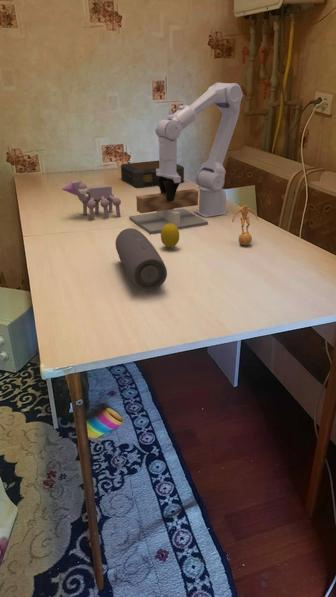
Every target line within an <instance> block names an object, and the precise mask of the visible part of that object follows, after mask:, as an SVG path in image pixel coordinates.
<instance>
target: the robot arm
mask: <svg viewBox="0 0 336 597" xmlns="http://www.w3.org/2000/svg"><path fill="white" fill-rule="evenodd" d="M207 88H208V89H207V91H205V92H204V93H203V94H202V95H201V96H199V97H198V98H197V99H196V100H194V102H192V103H191V104H190V105H186V104H185V105H180V106H179V107H178V109H177V110H176V111H175V112H174V113H172V114H169V115H168V116H167V119H161V120H160V121H159V122H158V123H157V125H156V128H155V129H154V130H155V134H156V136H157V138H158V143H159V144H158V146H159V150H158V152H159V153H158V159H159V160H158V161H159V169H156V175H157V176H160V177H158V178H156V181H157V183H158V185H159V186H158V187H159V191H160V193H166V195H167V201H168V202H171V201H174V198H175V194H176V191H178V188H179V186H180V184H181V183H180V182H181V176H179V175H178V173H177V172H176V168H177V164H178V163H177V162H178V161H177V159H178V158H177V156H178V155H177V154H178V153H177V150H178V138H180V136H181V133H182V131H184V129H186V128H187V127H189V126H190V125H191V124H192V123H194V122H195V120H196V115H198V114H200V113H201V112H203V111H204V110H206V109H208V107H210V106H211V105H213V104H214V105H215V106H216V107H217V108H218V110H219V111H220V113H221V119H220V122H219V124H218V126H217V127H218V128H217V130H216V133H215V136H214V140H213V143H212V146H211V150H210V153H209V155H208V159H207V160H206V161H205V162H204V163H202V164H201V167H200V168H199V170H198V171H197V173H196V176H195V182H196V184H197V185H198V189H199V193H198V209H196V210H194V211H193V212H194V213H196V214H198V215H200V216H202V217H204V218H209V217H216V216H221V215H227V212H226V208H227V207H226V205H227V193H226V191H225V190H224V189H223V187H224V185H225V178H226V173H227V172H226V168H225V167H224V165H223V164H224V161H225V158H226V156H227V152H228V149H229V147H230V145H231V144H230V143H231V141H232V138H233V134H234V132H235V129H236V125H237V121H238V119H239V116H240V112H241V109H240V108H241V102H242V99H243V97H244V93H243V90H242V88H241V85H239V83H237V82H232V83H230V82H229V83H227V82H219V81H218V82H215V83H214V84H213V85H210V86H209V87H207Z"/></svg>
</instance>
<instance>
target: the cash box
mask: <svg viewBox="0 0 336 597" xmlns="http://www.w3.org/2000/svg"><path fill="white" fill-rule="evenodd" d="M156 169H159V160H150V161H141V162H130V163H129V162H128V163H122V164H121V165H120V174H121V175H120V178H121V181H123V182H125V183H126V184H128V185H130V186H132V187H133V188H136V189H143V188H150V187H159V185H158V183H157V181H156V178H158V177H160V176H157V175H156ZM176 172H177V173H178V175H179V176H181V182H180V184H183V183H184V181H185V167H184V166H183V165H180V164H178V163H177V168H176Z"/></svg>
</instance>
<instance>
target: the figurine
mask: <svg viewBox="0 0 336 597" xmlns="http://www.w3.org/2000/svg"><path fill="white" fill-rule="evenodd" d="M249 212H251V213H253V215H254V216H255V218H256V220H257V221H259V217H258V215H257V213H256V211H255V210H254V209H251V208H250V207H248V205H246V204H245V205H242V206H241V207H240V208H239V209H237V210H235V211H234V212H233V216H232V219H231V222H232V223H235V222H234V221H235V217H236V214H237V213H241V217H240V222H241V223H240V224H241V233H240V234H239V237H238V242H239V244H240V245H242V246H243V247H244V246H249V245H250V244H251V243H252V241H253V237H252V235H251V233H250V232H249V229H248V228H249V226H250V225H251V222H250V217H249V216H248V214H249ZM245 223H246V224H247V225H246V227H245ZM244 227H245V229H246V232H245V229H244Z"/></svg>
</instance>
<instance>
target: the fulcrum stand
mask: <svg viewBox="0 0 336 597" xmlns="http://www.w3.org/2000/svg"><path fill="white" fill-rule="evenodd" d="M128 218H129V219H128V220H130V221H132V222H133V224H135V225H137V226H138V227H140V228H141V229H142V230H144V231H145V232H147V233H148V234H150V235H154V234H159V233H160V234H161V231H162V228H163V227H164V226H165V225H166V224H169V223H172V224H174V225H175V226H176V227H177V228H178V230H184V229H189V228H196V227H201V226H207V225H209V221H208V220H205V219H204V218H202V217H200V216H198V215H196V214H194V213H192V212H190V210H189V211H188V210H187V209H185V208H175V209H169V210H162V211H155V212H148V213H141V214H138V215H137V214H136V215H130V216H128Z"/></svg>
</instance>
